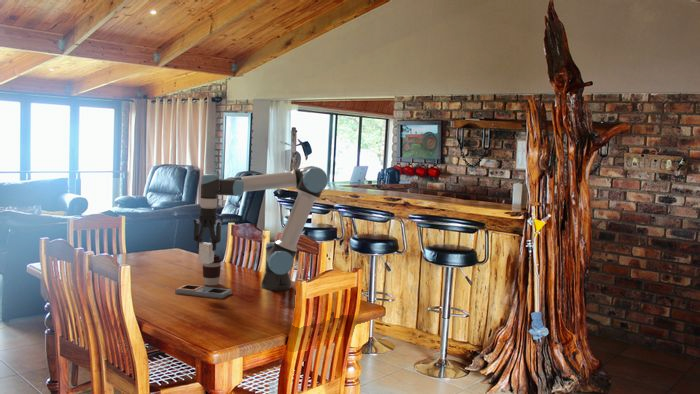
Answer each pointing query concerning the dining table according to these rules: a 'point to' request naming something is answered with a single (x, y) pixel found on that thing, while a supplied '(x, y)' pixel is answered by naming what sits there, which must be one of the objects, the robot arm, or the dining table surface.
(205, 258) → the block
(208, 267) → the coffee cup
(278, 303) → the dining table surface
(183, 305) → the dining table surface
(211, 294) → the grey tray
